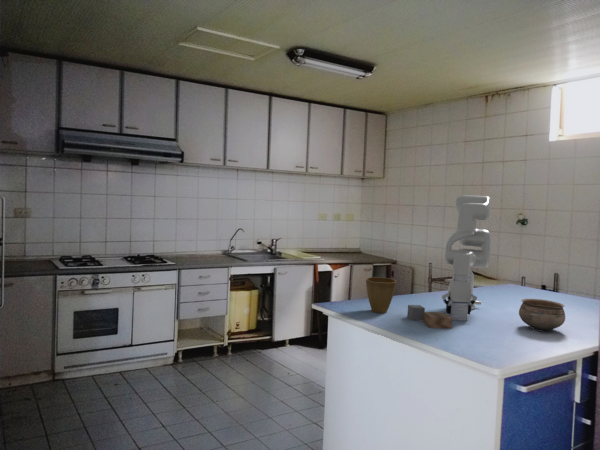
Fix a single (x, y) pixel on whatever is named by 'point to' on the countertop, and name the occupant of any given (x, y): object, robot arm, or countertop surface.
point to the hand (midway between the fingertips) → (458, 313)
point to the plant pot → (380, 293)
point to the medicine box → (459, 311)
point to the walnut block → (437, 320)
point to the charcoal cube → (415, 312)
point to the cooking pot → (542, 314)
